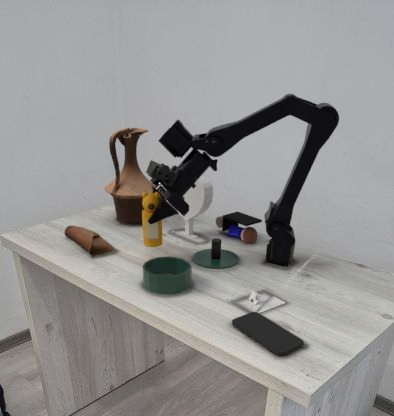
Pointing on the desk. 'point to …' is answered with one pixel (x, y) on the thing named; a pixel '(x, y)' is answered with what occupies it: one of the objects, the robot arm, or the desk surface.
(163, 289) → the pot
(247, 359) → the desk surface
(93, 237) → the sunglasses case
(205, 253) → the pot lid
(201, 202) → the heart sculpture
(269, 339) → the phone
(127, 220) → the pitcher
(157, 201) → the toy
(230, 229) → the figurine character
